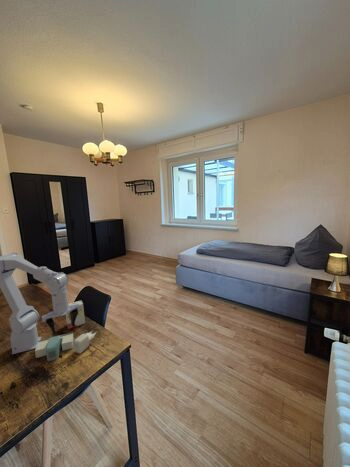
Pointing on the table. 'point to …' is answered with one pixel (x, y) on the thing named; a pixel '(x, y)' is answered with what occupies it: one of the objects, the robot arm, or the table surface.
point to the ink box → (80, 316)
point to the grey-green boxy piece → (53, 348)
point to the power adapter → (83, 342)
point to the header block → (65, 342)
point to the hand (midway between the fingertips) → (63, 329)
